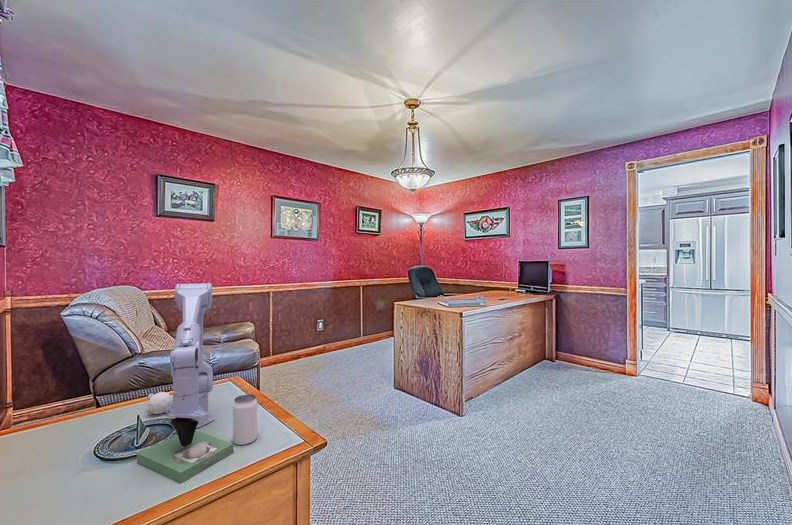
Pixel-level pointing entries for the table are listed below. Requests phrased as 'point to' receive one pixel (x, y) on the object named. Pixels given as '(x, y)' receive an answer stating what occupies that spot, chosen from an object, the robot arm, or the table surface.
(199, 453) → the ball
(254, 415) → the can
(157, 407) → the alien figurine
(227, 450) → the putting mat
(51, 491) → the table surface
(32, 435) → the table surface
